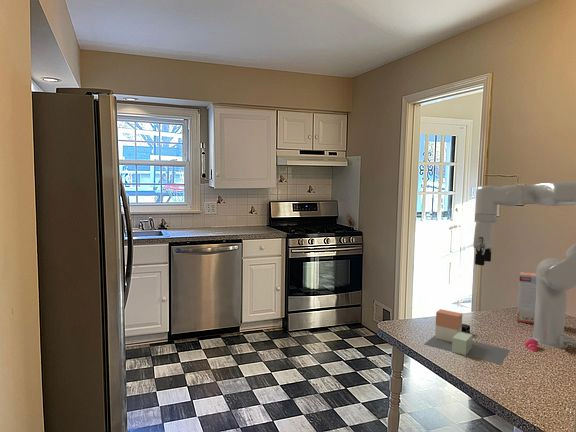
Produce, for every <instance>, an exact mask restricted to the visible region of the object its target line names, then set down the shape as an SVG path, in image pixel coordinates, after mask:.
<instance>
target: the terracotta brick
mask: <svg viewBox="0 0 576 432" xmlns="http://www.w3.org/2000/svg"><path fill="white" fill-rule="evenodd" d="M462 324H463V313H461V312H456V311H451V310H446V309H442V308H440V309H438V310H436V312H435V326H436V325H437V326H442V327H446V328H450V329H455V330H459V329H460V328H461V327H462Z"/></svg>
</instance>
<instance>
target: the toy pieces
mask: <svg viewBox="0 0 576 432" xmlns="http://www.w3.org/2000/svg"><path fill="white" fill-rule="evenodd" d="M524 345H525V346H524V347H525V348H527V350H529V351H531V352H534V353H536V352H537V351H538V346H539V345H540V344H538V341H537V340H535V339H528V338H527V340H526V341H525V343H524Z"/></svg>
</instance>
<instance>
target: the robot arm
mask: <svg viewBox="0 0 576 432" xmlns="http://www.w3.org/2000/svg"><path fill="white" fill-rule="evenodd" d="M518 205H540V206H548V207H551V206H552V207H562V206H563V207H565V206H576V181H575V180H574V181H557V182H556V181H552V182H544V183H534V184H515V185H513V184H511V185H509V184H508V185H502V186H495V185H479V186H477V188H476V193H475V206H474V207H475V209H474V210H475V211H474V222H475V227H474V236H473V246H472V247H473V249H475V257H474V265H476V266H485V262H488V263H490V262H491V261H492V247H493V243H494V224H497V218H498V206H506V207H514V206H515V207H516V206H518ZM535 273H536V303H535V317H534V324H533V330H532V331H533V332H532V334H530V335H528V338H527V340H528V339H535V340H537V341H538V344H539V345H540V346H545V347H549V348H550V347H551V348H556V349H557V348H559V349H561V348H562V349H563V348H564V349H568V348H569V344H570V345H573V346H576V338H575V337H571V336H568V335H566V331H565V324H566V323H565V321H566V311H567V309H566V308H567V300H568V298H567V297H568V294H567V293H568V290H571V289H573V288H575V287H576V243H574V244H572V245H571V246H570V247H569V248H568V249H566V252H565V258H564V259H562V260H560V259H557V258H555V257H554V258H553V257H550V258H549V257H548V258H545V259H543V260H541V261H540V262H539V264H537V266H536V271H535Z"/></svg>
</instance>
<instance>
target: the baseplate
mask: <svg viewBox="0 0 576 432" xmlns="http://www.w3.org/2000/svg"><path fill="white" fill-rule="evenodd" d="M423 345H424V346H426V347H427V346H428V347H431V348H436V349H439V350H443V351H447V352H451V353H453V352H452V342H449V341H445V340H441V339H437V338H435V335H433V336H432V337H431V338H429V340H427V341H426V342H425V343H424V344H423ZM510 351H511V350H510V349H508V348H504V347H498V346H495V345H491V344H486V343H482V342H478V341H474V340H472V349H471V350H470V351H469V352H468V353H467V354H466V355H464V356H465V357H470V358H474V359H477V360H481V361H484V362H487V363H493V364H496V365H502V363H503V362H504V360H505V358H506V357H507V355H509V353H510ZM460 355H462V354H460ZM462 356H463V355H462Z"/></svg>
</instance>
